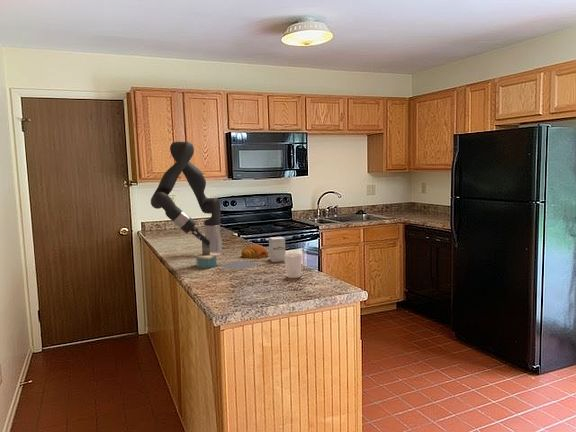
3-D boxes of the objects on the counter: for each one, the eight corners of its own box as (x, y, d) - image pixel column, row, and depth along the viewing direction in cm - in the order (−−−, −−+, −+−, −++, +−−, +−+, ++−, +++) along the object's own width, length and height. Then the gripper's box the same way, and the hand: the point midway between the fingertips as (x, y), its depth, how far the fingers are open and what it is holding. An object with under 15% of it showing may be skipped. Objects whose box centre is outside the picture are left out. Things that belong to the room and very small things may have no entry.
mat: (236, 261, 241) (236, 260, 241) (261, 264, 233) (261, 263, 233) (217, 267, 228) (217, 266, 227) (243, 270, 220) (243, 269, 219)
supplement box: (272, 263, 235) (271, 239, 234) (269, 260, 243) (268, 237, 241) (285, 261, 237) (285, 238, 236) (282, 259, 244) (281, 236, 243)
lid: (204, 252, 239) (204, 236, 238) (224, 254, 233) (223, 237, 232) (188, 257, 228) (187, 240, 227) (207, 259, 222) (206, 241, 221)
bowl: (205, 263, 238) (205, 253, 237) (220, 265, 233) (220, 254, 232) (192, 267, 229) (192, 257, 229) (208, 269, 224) (207, 258, 224)
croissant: (238, 261, 255) (235, 247, 253) (259, 253, 264) (257, 240, 263) (252, 264, 244) (249, 249, 242) (274, 256, 253) (272, 242, 252)
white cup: (292, 273, 210) (291, 252, 209) (305, 275, 205) (305, 254, 204) (281, 276, 204) (280, 255, 203) (295, 279, 199) (294, 257, 198)
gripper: (190, 218, 220) (214, 239, 224) (188, 215, 233) (212, 235, 237) (179, 229, 219) (204, 250, 223) (179, 226, 232) (202, 246, 237)
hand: (208, 243), depth 230 cm, fingers open, 8 cm apart
